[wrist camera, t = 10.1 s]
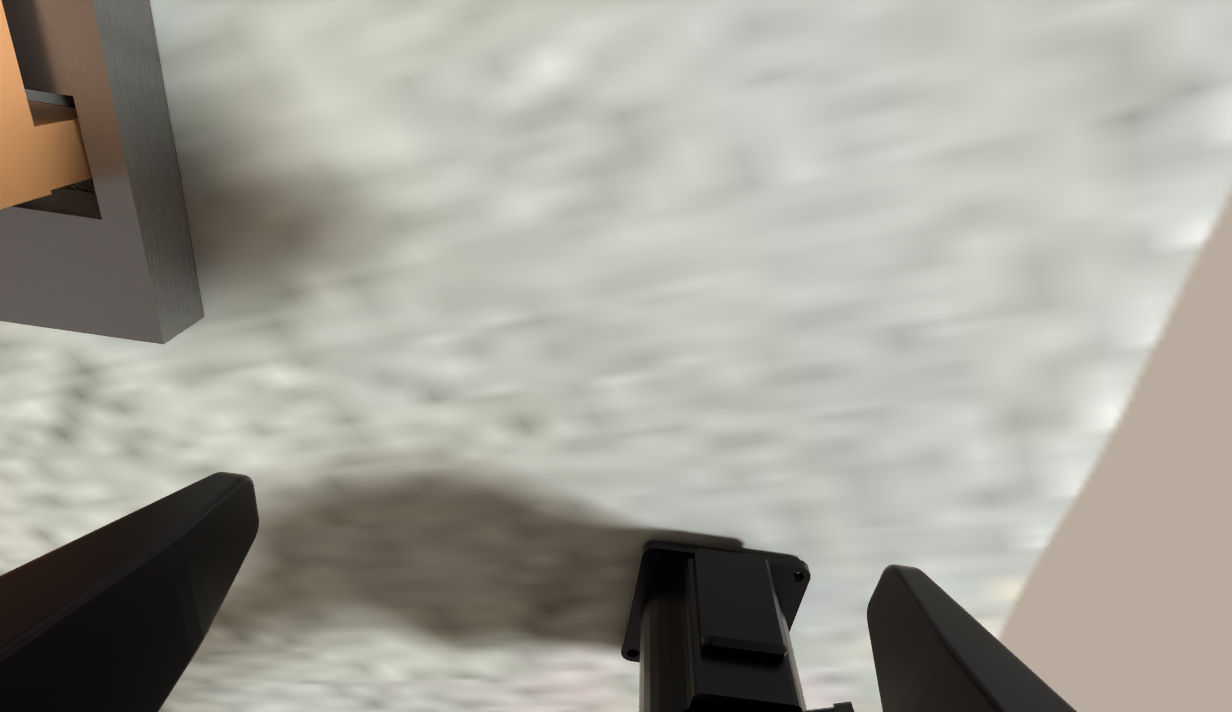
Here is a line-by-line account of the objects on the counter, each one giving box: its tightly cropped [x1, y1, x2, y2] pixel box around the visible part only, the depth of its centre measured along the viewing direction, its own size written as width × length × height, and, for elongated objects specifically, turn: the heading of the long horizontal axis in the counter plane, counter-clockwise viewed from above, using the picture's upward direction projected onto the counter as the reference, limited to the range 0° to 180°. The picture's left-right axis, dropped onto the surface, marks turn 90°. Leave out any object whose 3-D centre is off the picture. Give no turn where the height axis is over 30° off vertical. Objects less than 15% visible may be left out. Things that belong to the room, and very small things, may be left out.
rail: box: [0, 0, 204, 344], centre depth 17 cm, size 16×6×2 cm, turn 172°
